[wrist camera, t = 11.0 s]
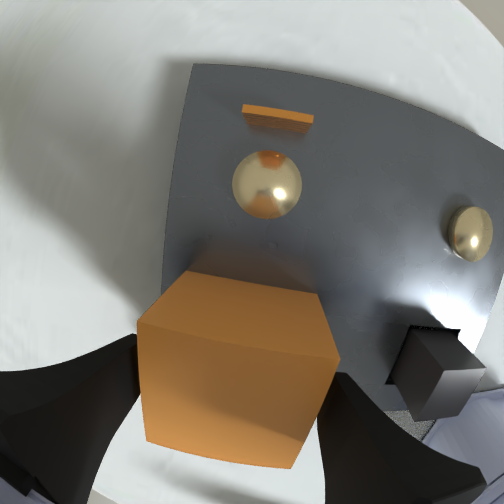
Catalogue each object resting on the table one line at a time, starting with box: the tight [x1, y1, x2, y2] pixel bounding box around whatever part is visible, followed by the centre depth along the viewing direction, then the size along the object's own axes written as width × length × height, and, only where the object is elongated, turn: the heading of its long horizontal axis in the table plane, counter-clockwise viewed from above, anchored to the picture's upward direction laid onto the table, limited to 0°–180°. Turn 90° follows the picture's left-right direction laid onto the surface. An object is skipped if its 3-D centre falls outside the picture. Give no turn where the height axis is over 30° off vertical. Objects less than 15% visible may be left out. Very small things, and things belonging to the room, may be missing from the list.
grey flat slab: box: [161, 64, 504, 411], centre depth 12 cm, size 18×16×4 cm
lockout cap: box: [137, 271, 340, 469], centre depth 10 cm, size 6×6×5 cm
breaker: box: [390, 328, 486, 422], centre depth 11 cm, size 3×3×4 cm
